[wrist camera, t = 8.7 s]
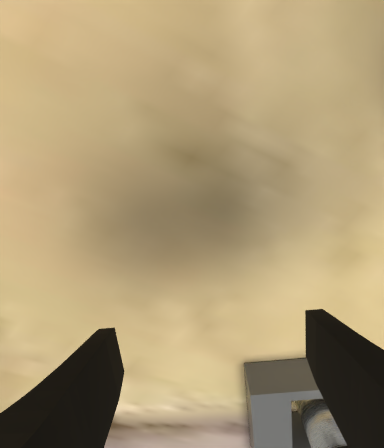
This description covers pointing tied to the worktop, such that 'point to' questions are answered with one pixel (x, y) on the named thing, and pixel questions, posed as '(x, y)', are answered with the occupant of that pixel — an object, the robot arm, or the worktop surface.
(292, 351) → the worktop surface
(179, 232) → the worktop surface
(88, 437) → the robot arm
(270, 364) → the socket strip
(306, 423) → the jar
